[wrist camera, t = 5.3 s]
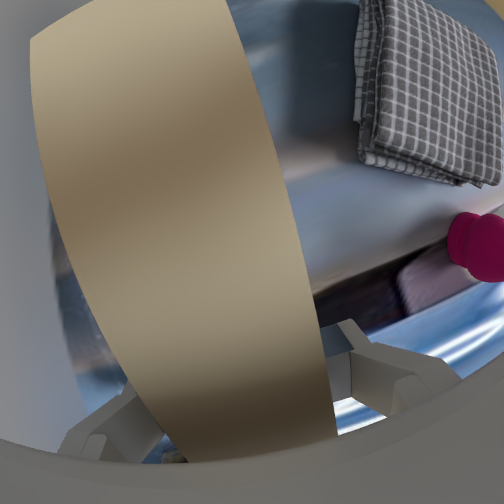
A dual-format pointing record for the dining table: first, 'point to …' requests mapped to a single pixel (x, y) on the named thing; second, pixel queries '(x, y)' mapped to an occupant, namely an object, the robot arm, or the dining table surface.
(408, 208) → the dining table surface
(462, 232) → the pepper mill
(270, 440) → the beech bar
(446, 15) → the towel
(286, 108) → the dining table surface
